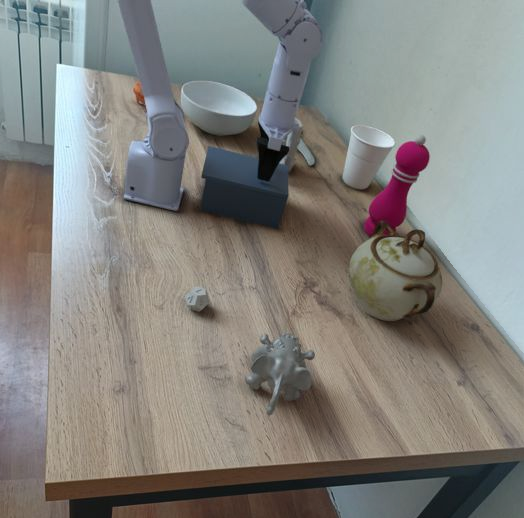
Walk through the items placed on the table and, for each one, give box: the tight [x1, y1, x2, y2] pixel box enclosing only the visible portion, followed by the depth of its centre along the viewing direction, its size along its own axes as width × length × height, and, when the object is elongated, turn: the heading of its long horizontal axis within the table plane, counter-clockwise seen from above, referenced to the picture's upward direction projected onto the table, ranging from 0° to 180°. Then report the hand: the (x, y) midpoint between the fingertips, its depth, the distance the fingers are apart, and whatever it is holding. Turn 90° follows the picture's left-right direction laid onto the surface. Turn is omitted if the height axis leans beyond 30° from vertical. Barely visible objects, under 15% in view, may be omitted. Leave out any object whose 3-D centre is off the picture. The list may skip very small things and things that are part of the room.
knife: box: [297, 136, 316, 167], centre depth 129 cm, size 27×2×5 cm
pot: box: [132, 81, 146, 106], centre depth 120 cm, size 8×8×7 cm
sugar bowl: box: [348, 221, 443, 322], centre depth 85 cm, size 20×15×15 cm
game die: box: [184, 285, 211, 313], centre depth 77 cm, size 4×4×3 cm
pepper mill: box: [363, 134, 431, 237], centre depth 101 cm, size 7×7×20 cm
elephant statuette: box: [245, 332, 316, 416], centre depth 67 cm, size 9×12×8 cm
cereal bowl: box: [180, 80, 258, 137], centre depth 120 cm, size 17×17×7 cm
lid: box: [200, 145, 290, 200], centre depth 96 cm, size 15×12×4 cm
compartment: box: [199, 179, 288, 230], centre depth 100 cm, size 15×12×6 cm
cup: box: [341, 124, 396, 190], centre depth 117 cm, size 10×10×11 cm
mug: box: [280, 117, 304, 173], centre depth 112 cm, size 8×12×12 cm, turn 7°
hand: (263, 170), depth 97 cm, fingers open, 6 cm apart
